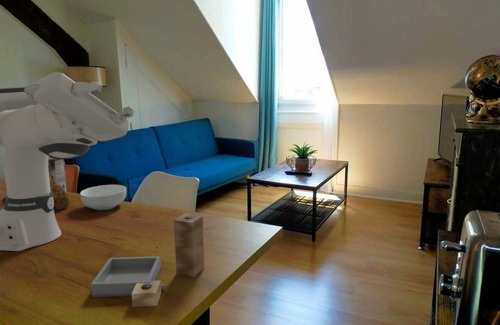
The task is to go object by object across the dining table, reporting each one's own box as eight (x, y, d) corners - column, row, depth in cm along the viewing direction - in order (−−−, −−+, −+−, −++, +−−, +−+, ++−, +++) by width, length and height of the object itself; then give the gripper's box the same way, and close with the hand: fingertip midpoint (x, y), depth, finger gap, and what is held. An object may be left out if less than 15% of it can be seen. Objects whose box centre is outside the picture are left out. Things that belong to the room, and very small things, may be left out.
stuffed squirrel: (47, 203, 144) (44, 172, 141) (78, 205, 141) (75, 173, 138) (28, 211, 134) (23, 177, 131) (60, 214, 131) (56, 179, 129)
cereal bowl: (94, 200, 148) (92, 184, 146) (133, 200, 147) (132, 184, 146) (73, 214, 131) (71, 195, 130) (117, 214, 130) (115, 196, 129)
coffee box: (39, 194, 156) (34, 159, 153) (49, 190, 163) (45, 156, 159) (57, 195, 155) (53, 159, 152) (67, 191, 161) (63, 157, 158)
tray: (92, 297, 77) (90, 284, 76) (110, 269, 89) (109, 257, 89) (150, 295, 78) (149, 282, 77) (161, 267, 90) (160, 256, 90)
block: (176, 273, 87) (173, 219, 84) (187, 264, 92) (185, 213, 89) (194, 277, 85) (191, 222, 82) (204, 268, 90) (202, 215, 87)
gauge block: (130, 306, 73) (129, 293, 73) (138, 289, 80) (137, 276, 80) (159, 305, 74) (158, 292, 73) (165, 288, 81) (164, 275, 80)
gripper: (22, 76, 68) (78, 54, 63) (99, 125, 85) (148, 110, 81) (14, 103, 65) (72, 83, 61) (96, 148, 82) (146, 134, 78)
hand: (116, 99), depth 71 cm, fingers open, 8 cm apart
